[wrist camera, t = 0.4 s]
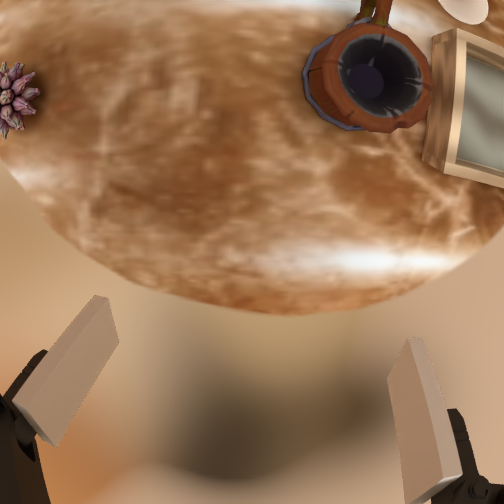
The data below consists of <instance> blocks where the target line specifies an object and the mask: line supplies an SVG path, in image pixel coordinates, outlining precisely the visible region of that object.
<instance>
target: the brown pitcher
mask: <svg viewBox="0 0 504 504" xmlns="http://www.w3.org/2000/svg"><path fill="white" fill-rule="evenodd" d="M392 1H393V0H361V7H360V13H358V14H357V16H356V18H355V20H354V22H352V23H350V24H349V25H347V28H346V30H344V31H341V32H339V33H337V34H335V35H332V36H330V37H329V38H328V39H326V40H325V41H323V42H322V43H321V44H319V45H318V46H316V47H315V48H314V49H312V51H311V54H310V56H309V58H308V60H307V62H306V65H305V67H304V69H303V71H302V77H303V84H304V90H305V97H306V99H307V100H308V102H309V103H310V104H311V105H312V106H313V108H314V109H315V110H316V111H317V113H318V114H319V115H320V117H321V118H322V119H324V120H326V121H328V122H330V123H332V124H334V125H336V126H338V127H340V128H342V129H344V130H346V131H351V130H368V131H370V132H383V133H391V132H393V131H394V130H396V129H397V128H410V127H411V126H413V125H414V124H416V123H417V122H419V121H420V120H422V119H423V118H424V117H425V115H426V112H427V110H428V108H429V106H430V104H431V101H432V98H431V95H430V92H429V90H431V89H432V88H434V83H433V79H432V75H431V72H430V68H429V65H428V62H427V58H426V57H425V55H424V54H423V53H422V52H421V51H420V49H419V48H418V47H417V46H416V45H415V44H414V43H413V42H412V40H411V39H410V38H409V37H408V36H407V35H405V34H403V33H401V32H399V31H397V30H394V29H392V28H391V26H390V25H389V24H388V20H389V14H390V10H391V6H392ZM375 7H376V8H375ZM374 9H375V14H374V16H373V17H372V14H373V12H374Z"/></svg>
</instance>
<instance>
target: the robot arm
mask: <svg viewBox="0 0 504 504" xmlns="http://www.w3.org/2000/svg"><path fill="white" fill-rule="evenodd" d="M118 343H119V339H118V336H117V331H116V328H115V324H114V320H113V317H112V312H111V308H110V304H109V299H108V298H106V297H101V296H97V295H94V296H93V298H92V299H91V300H90V301H89V302H88V303H87V305H86V306H85V307H84V308H83V309H82V311H81V312H80V313H79V314H78V315H77V317H76V318H75V319H74V320H73V321H72V323H71V324H70V325H69V326H68V327H67V329H66V330H65V331H64V332H63V334H62V335H61V336H60V337H59V339H58V340H57V341H56V342H55V343H54V345H53V346H52V347H51V349H50V350H49V351H46V350H44V349H43V350H41V351H40V352H39V353H37V354H36V355H34V356H33V357H32V359H31V360H30V361H29V363H28V364H27V366H25V368H24V369H23V370H22V373H20V374H19V376H18V377H17V378H16V379H15V381H14V382H13V383H12V385H11V386H10V388H9V389H8V391H7V392H6V393H5V394H4V396H3V397H2V396H1V394H0V504H51V502H50V499H49V496H48V492H47V488H46V484H45V480H44V477H43V472H42V468H41V463H40V458H39V453H38V448H37V443H36V440H35V438H34V437H35V435H36V433H37V434H38V435H39V436H40V437H41V439H42V440H43V441H45V442H47V443H49V444H51V445H53V446H55V447H57V446H58V445H59V443H60V441H61V439H62V437H63V435H64V434H65V432H66V430H67V428H68V427H69V425H70V423H71V421H72V420H73V418H74V416H75V414H76V413H77V411H78V409H79V408H80V406H81V404H82V402H83V401H84V399H85V397H86V396H87V393H88V392H89V391H90V389H91V387H92V385H93V384H94V382H95V381H96V379H97V377H98V376H99V374H100V372H101V371H102V369H103V367H104V366H105V364H106V363H107V361H108V359H109V358H110V356H111V355H112V353H113V351H114V350H115V348H116V347H117V345H118ZM387 381H388V387H389V392H390V397H391V402H392V408H393V414H394V419H395V426H396V432H397V439H398V446H399V453H400V460H401V468H402V478H403V486H404V498H405V504H423V503H425V502H426V501H428V500H429V499H430V498H431V504H504V485H502V484H501V485H500V484H491V483H489V482H488V480H487V479H486V478H485V477H484V476H481V475H479V473H478V470H477V466H476V462H475V458H474V454H473V450H472V447H471V443H470V440H469V436H468V432H467V431H466V425H465V422H464V419H463V417H462V416H461V414H460V413H459V412H458V410H457V409H446V406H445V402H444V399H443V396H442V393H441V389H440V386H439V383H438V380H437V377H436V374H435V371H434V368H433V365H432V362H431V360H430V357H429V354H428V351H427V348H426V346H425V344H424V340H423V338H416V337H407V339H406V341H405V344H404V346H403V348H402V350H401V352H400V354H399V357H398V358H397V360H396V362H395V364H394V367H393V368H392V370H391V372H390V374H389V376H388V378H387Z"/></svg>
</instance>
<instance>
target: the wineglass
mask: <svg viewBox="0 0 504 504" xmlns="http://www.w3.org/2000/svg"><path fill="white" fill-rule="evenodd" d="M438 1H439V3H440V4H441V5H442V7H443V8H444V9H445V10H446V11H447V12H448V13H449V14H450V15H452V16H453V17H454V18H456V19H458V20H459V21H461V22H464V23H467V24H470V25H472V24H479V23H481V22H483V21H484V20H485V19H486V17H487V15H488V2H487V0H438Z"/></svg>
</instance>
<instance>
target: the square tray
mask: <svg viewBox="0 0 504 504" xmlns="http://www.w3.org/2000/svg"><path fill="white" fill-rule="evenodd" d="M431 75H432V79H433V83H434V88H432V89H431V90H430V95H431V98H432V101H431V104H430V106H429V108H428V115H427V124H426V132H425V139H424V146H423V153H422V159H421V160H422V161H424V162H426V163H427V164H429V165H431V166H432V167H434V168H436V169H437V170H439V171H441V172H442V173H445V174H449V175H454V176H458V177H462V178H466V179H470V180H474V181H478V182H482V183H486V184H489V185H493V186H497V187H500V188H504V48H503V47H501V46H499V45H497V44H494V43H492V42H490V41H488V40H486V39H483V38H481V37H479V36H476V35H474V34H472V33H469V32H467V31H464V30H461V29H459V28H454V29H452V30H449V31H446V32H444V33H441V34H438V35H436V36H433V37H432V67H431Z"/></svg>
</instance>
